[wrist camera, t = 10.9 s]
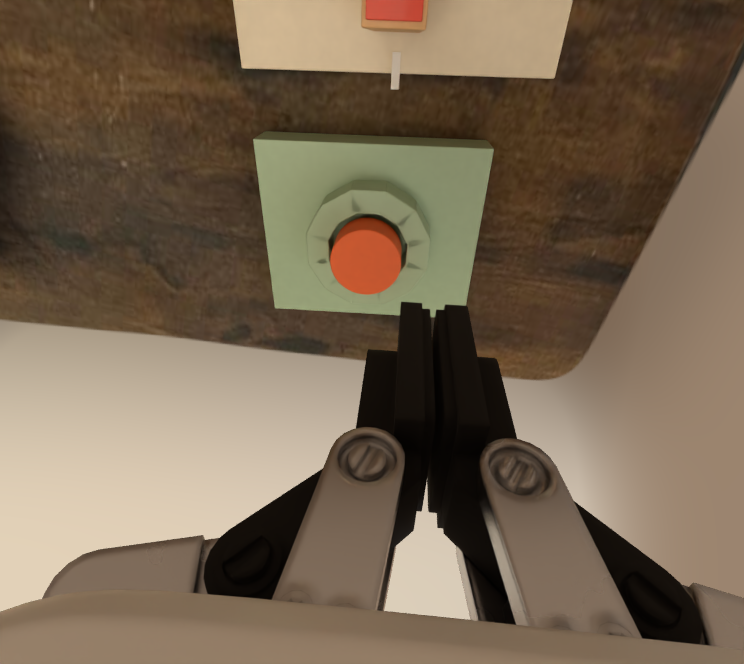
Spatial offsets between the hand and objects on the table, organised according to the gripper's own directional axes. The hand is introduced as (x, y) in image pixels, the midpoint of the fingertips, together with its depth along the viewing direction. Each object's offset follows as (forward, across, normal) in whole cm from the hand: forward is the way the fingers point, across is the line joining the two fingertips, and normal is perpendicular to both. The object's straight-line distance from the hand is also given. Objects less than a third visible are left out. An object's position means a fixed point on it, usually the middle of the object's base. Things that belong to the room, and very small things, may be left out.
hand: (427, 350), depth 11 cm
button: (+12, +3, +3) cm, 12 cm away
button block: (+15, +3, +3) cm, 16 cm away
